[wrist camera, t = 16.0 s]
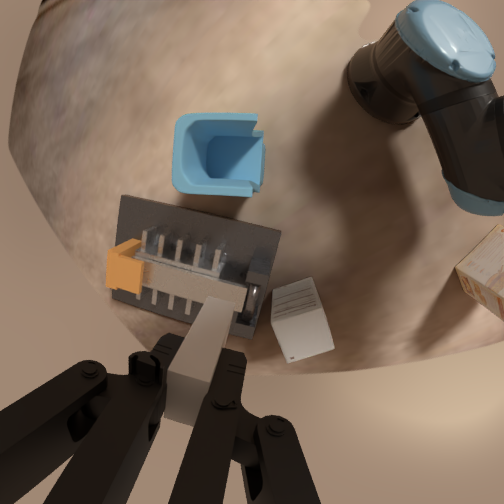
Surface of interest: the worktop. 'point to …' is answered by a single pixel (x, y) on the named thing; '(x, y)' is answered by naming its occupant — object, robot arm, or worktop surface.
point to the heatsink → (196, 254)
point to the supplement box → (300, 321)
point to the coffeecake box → (485, 272)
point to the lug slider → (125, 267)
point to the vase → (218, 154)
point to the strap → (199, 286)
